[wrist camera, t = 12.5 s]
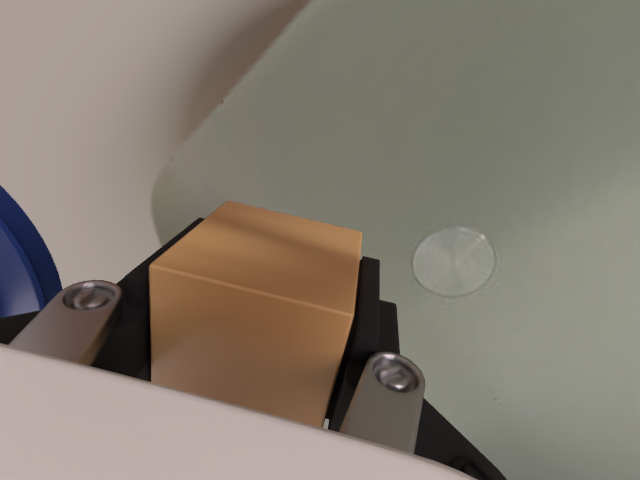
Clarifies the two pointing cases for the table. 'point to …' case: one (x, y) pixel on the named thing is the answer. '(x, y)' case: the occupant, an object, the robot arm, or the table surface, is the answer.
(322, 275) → the block
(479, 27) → the table surface
